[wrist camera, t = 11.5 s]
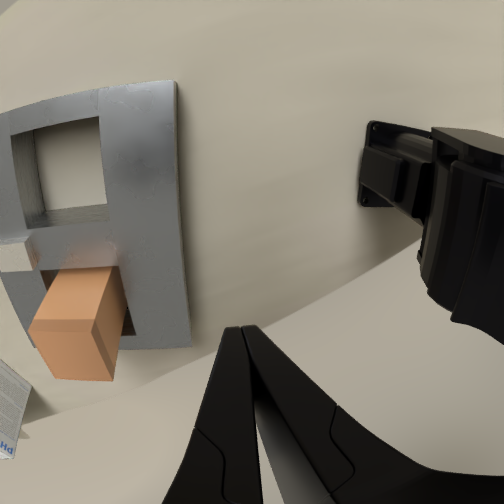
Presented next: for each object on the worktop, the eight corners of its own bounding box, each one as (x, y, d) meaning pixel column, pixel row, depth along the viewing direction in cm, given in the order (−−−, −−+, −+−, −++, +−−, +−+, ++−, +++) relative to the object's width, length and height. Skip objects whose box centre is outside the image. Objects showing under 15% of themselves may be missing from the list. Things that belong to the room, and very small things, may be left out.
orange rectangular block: (117, 253, 20) (90, 331, 13) (128, 300, 22) (113, 381, 15) (67, 257, 19) (27, 330, 13) (81, 302, 21) (55, 378, 15)
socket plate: (176, 82, 15) (172, 78, 12) (190, 320, 24) (192, 354, 21) (-11, 120, 13) (-42, 129, 10) (43, 324, 22) (31, 354, 18)
